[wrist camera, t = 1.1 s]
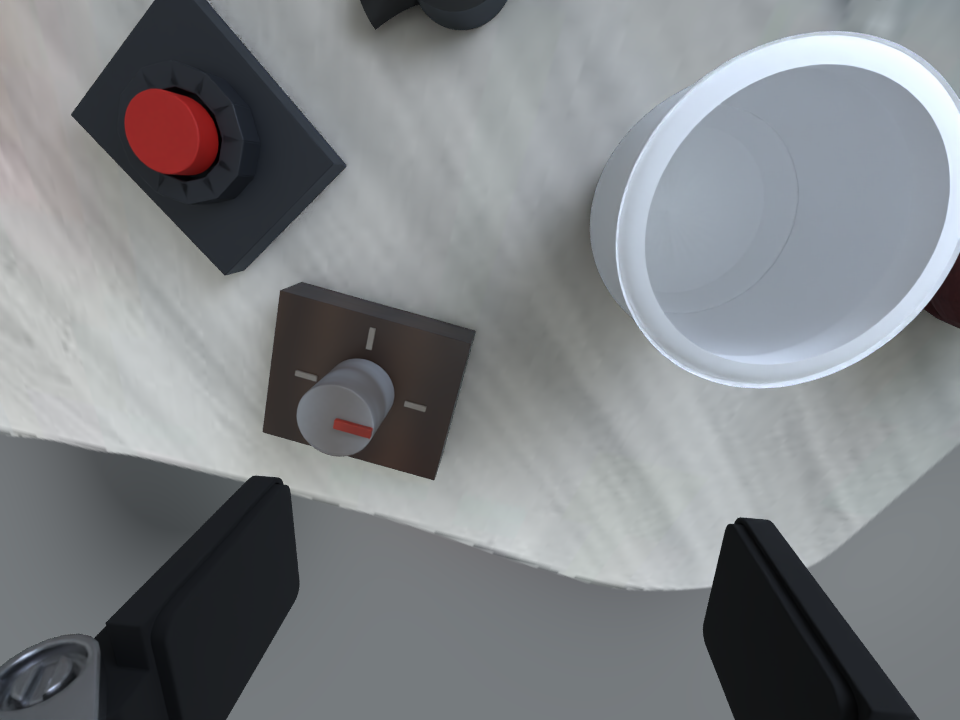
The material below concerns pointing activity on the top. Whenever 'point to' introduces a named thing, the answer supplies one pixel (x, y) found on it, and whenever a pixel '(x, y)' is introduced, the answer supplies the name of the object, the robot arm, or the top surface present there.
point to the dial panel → (384, 341)
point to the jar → (784, 209)
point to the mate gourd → (947, 298)
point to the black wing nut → (437, 11)
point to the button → (171, 132)
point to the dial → (345, 407)
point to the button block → (240, 126)
